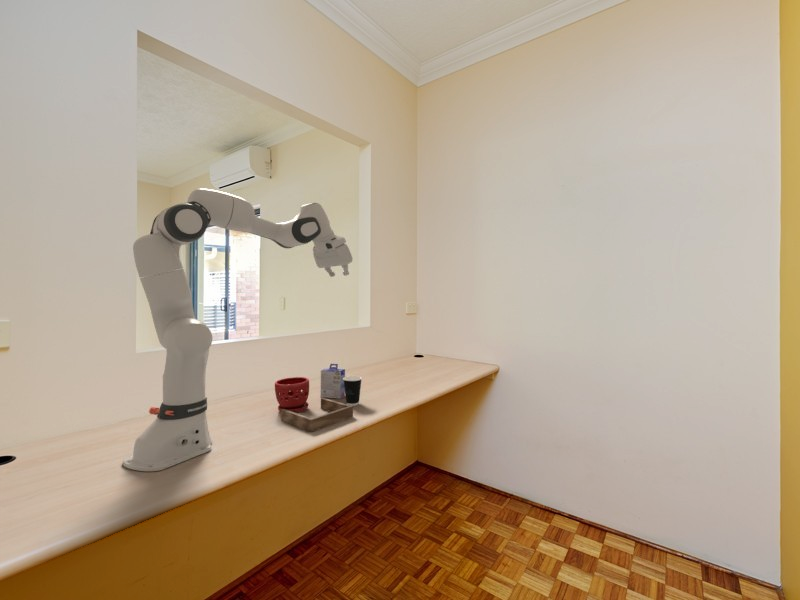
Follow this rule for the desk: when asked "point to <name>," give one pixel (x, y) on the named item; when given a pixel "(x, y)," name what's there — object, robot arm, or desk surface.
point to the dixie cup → (352, 389)
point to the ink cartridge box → (332, 382)
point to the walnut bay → (312, 424)
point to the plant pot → (292, 393)
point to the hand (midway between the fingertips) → (339, 275)
